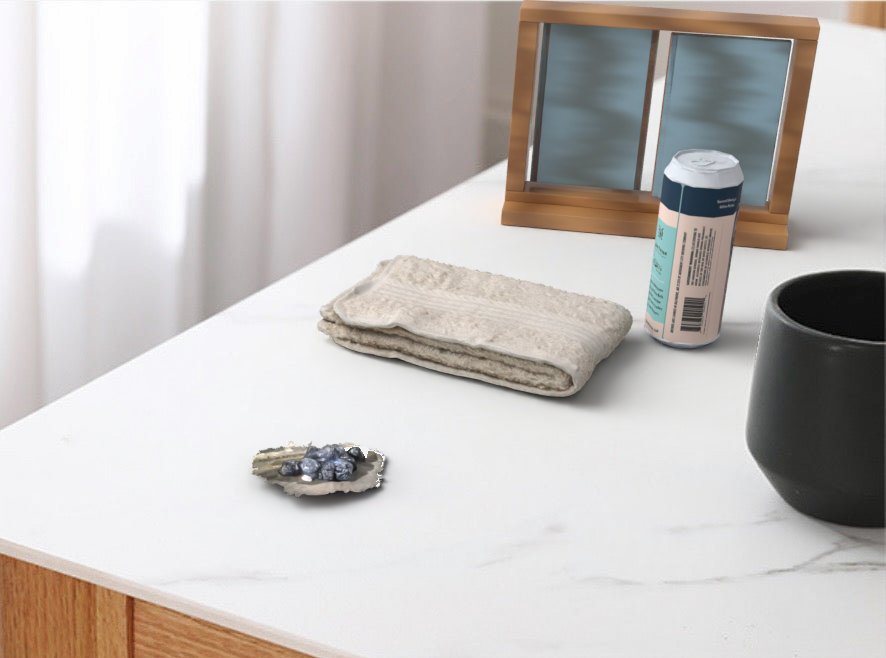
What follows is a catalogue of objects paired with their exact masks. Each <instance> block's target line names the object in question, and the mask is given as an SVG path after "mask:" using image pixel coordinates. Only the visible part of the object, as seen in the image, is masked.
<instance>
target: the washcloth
mask: <svg viewBox="0 0 886 658" xmlns="http://www.w3.org/2000/svg"><path fill="white" fill-rule="evenodd" d="M375 267H376V268H375V269H374V271H372V272H371V273H370V274H368V276H366V277H365V278H362V279H361V280H359V281H358V282H357V283H355V284H354V285H352V286H350V287H349V288H348V289H346V290H343V291H341V292H340V293H338V294H337V295H336V296H335V297H334V298H332V299H331V300H330V301H329V302H327V303H326V304H324V305H321V307H320V308H319V310H318V311H319V315H320V316H321V317H322V318H321V319H320V320H319V321H318V322H317V324H316V325H317V327H316V328H317V330H318V331H319V332H321V333H323V334H324V335H326V336H329V337H330V338H333V340H334V342H335V344H338V345H340V346H342V347H344V348H346V349H349V350H352V351H356V352H359V353H362V354H369V355H375V356H378V357H383V358H388V359H393V358H394V359H395V358H396V359H399V360H402V361H405V362H407V363H410V364H413V365H417V366H419V367H423V368H426V369H430V370H433V371H436V372H441V373H446V374H450V375H454V376H459V377H465V378H469V379H473V380H474V379H475V380H479V381H482V382H485V383H489V384H492V385H496V386H502V387H506V388H509V389H513V390H515V391H516V390H517V391H521V392H526V393H530V394H536V395H540V396H546V397H560V398H561V397H562V398H563V397H564V398H565V397H568V396H572V395H575V394H576V393H578V392H579V391H580V390H581V389H582V388H583V387H584V386H585V384H586V383H587V382H588V380H590V379H591V378H592V377H591V376H592V374H593V372H594V370H595V369H596V366H597V365H598V364H599V363H600V362H601V361H602V360H605V359H608V358H609V357H610V355H611V354H612V353H613V352H614V350H616V349H617V346H620V344H621V342H622V341H623V340H625V338H626V336H627V335H628V333H629V332H630V330H631V329H632V325H633V323H634V320H633V317H634V316H633V315H632V314H631V311H630V310H629V309H628V308H626V307H625V306H624V305H621V304H619V303H617V302H614V301H610V300H605V299H602V298H599V297H595V296H592V295H591V296H590V295H585V294H580V293H575V292H568V291H567V290H562V289H560V288H559V289H558V288H555V287H553V286H552V285H545V284H543V283H538V282H537V283H536V282H533V281H531V280H527V279H526V280H524V279H520V278H517V279H516V278H514V277H508V276H506V275H503V274H493V273H491V272H489V271H480V270H478V269H470V268H467V267H465V266H457V265H454V264H450V263H445V262H439V260H438V261H437V260H433V259H430V258H428V257H427V258H423V257H418V256H416V255H409V254H398V255H396V256H395V257H393V258H391V259H382V260H380V261H379V262H378V263H377V264H376V266H375Z"/></svg>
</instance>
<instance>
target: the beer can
mask: <svg viewBox="0 0 886 658" xmlns="http://www.w3.org/2000/svg"><path fill="white" fill-rule="evenodd" d="M743 180H744V176H743V173H742V170H741V167H740V165H739V161H738V160H737V159H736V158H735V157H733V156H732V155H730V154H726V153H723V152H719V151H715V150H703V149H691V150H684V151H679V152H678V153H676V154H675V155H674V156H673V159H672V160H671V162H670V163H669V165H668V166H667V167H666V169H665V170H664V176H663V184H662V192H661V200H660V208H659V215H658V223H657V231H656V238H654V246H653V247H654V248H653V256H652V261H651V270H650V278H649V285H648V286H649V287H648V293H647V301H646V309H645V316H644V317H645V318H644V325H643V326H644V329H645V331H646V332H647V333H648V334H649V335H650V337H652V338H654V339H655V340H656V341H658V342H659V343H661V344H664V345H667V346H669V347H673V348H680V349H696V348H701V347H703V346H705V345H708V344H711V343H713V342H715V341H716V340H718V339H719V337H720V335H721V331H722V330H721V329H722V322H723V317H724V310H725V303H726V296H727V291H728V284H729V276H730V272H731V265H732V258H733V251H734V246H735V245H734V239H735V232H736V226H737V219H738V213H739V206H740V200H741V193H742V187H743Z"/></svg>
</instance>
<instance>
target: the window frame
mask: <svg viewBox="0 0 886 658" xmlns="http://www.w3.org/2000/svg"><path fill="white" fill-rule="evenodd" d="M544 23H556V24H571V25H587V26H602V27H617V28H633V29H648V30H660V31H664V32H670V38H669V46H668V55H667V63H666V68H665V69H666V70H665V79H664V87H663V94H662V101H661V111H660V118H659V125H658V133H657V134H658V135H657V142H656V149H655V158H654V166H653V172H652V173H653V174H652V182H651V190H642V189H640V191H634V190H622V189H611V188H599V187H587V186H575V185H564V184H552V183H540V182H530V180H528V170H529V159H530V150H531V149H530V148H531V139H532V138H531V137H532V126H533V125H532V124H533V116H534V115H533V114H534V102H535V92H536V91H535V90H536V78H537V70H538V69H537V67H538V58H539V57H538V56H539V45H540V44H539V43H540V34H541V33H540V32H541V24H544ZM820 32H821V25H820V22H819V19H818V17H811V16H810V17H809V16H796V15H795V16H794V15H781V14H780V15H778V14H763V13H748V12H747V13H746V12H734V11H733V12H731V11H715V10H698V9H683V8H670V7H669V8H668V7H651V6H650V7H648V6H636V5H620V4H605V3H604V4H603V3H602V4H601V3H587V2H586V3H585V2H571V1H557V0H556V1H555V0H523V1H522V3H521V4H520V8H519V17H518V29H517V40H516V41H517V43H516V54H515V65H514V67H515V68H514V78H513V89H512V90H513V91H512V106H511V116H510V128H509V140H508V152H507V166H506V178H505V188H504V189H505V191H504V202H503V205H502V208H501V215H500V225H504V226H514V227H515V226H516V227H526V228H537V229H547V230H560V231H568V232H570V231H571V232H581V233H592V234H602V235H603V234H604V235H615V236H625V237H635V238H636V237H637V238H649V239H656V231H657V223H658V215H659V208H660V200H661V192H662V184H663V176H664V170H665V169H666V167H667V166H668V165H669V163H670V162H671V160H672V159H673V156H674V155H675V154H676V153H678V152H679V151H684V150H691V149H703V150H715V151H719V152H723V153H726V154H730V155H732V156H733V157H735V158H736V159H737V160H738V161H739V165H740V167H741V170H742V173H743V176H744V180H743V187H742V193H741V200H740V206H739V213H738V219H737V226H736V232H735V239H734V245H733V246H736V247H737V246H738V247H748V248H758V249H770V250H778V251H779V250H781V251H786V250H787V247H788V241H789V231H788V221H789V216H790V208H791V204H792V197H793V192H794V186H795V180H796V174H797V169H798V162H799V156H800V151H801V145H802V138H803V132H804V127H805V121H806V114H807V110H808V103H809V97H810V92H811V86H812V85H811V84H812V80H813V74H814V73H813V72H814V67H815V62H816V56H817V50H818V43H819V38H820V34H821V33H820ZM792 40H793V42H792Z"/></svg>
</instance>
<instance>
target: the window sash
mask: <svg viewBox="0 0 886 658" xmlns="http://www.w3.org/2000/svg"><path fill="white" fill-rule="evenodd" d="M542 27H543V28H542V37H541V38H542V40H541V48H540V49H541V50H540V62H539V72H538V83H537V84H538V85H537V86H538V87H537V96H536V106H535V107H536V108H535V117H534V118H535V119H534V129H533V139H532V151H531V163H530V164H531V165H530V174H529V181H530V182H540V183H552V184H564V185H575V186H587V187H599V188H611V189H622V190H634V191H640V190H642V189H641V188H642V181H643V180H642V179H643V171H644V166H645V165H644V164H645V157H646V147H647V139H648V131H649V123H650V114H651V106H652V98H653V90H654V83H655V76H656V75H655V74H656V65H657V57H658V49H659V40H660V32H661V30H648V29H633V28H617V27H602V26H587V25H571V24H556V23H543V26H542Z"/></svg>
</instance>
